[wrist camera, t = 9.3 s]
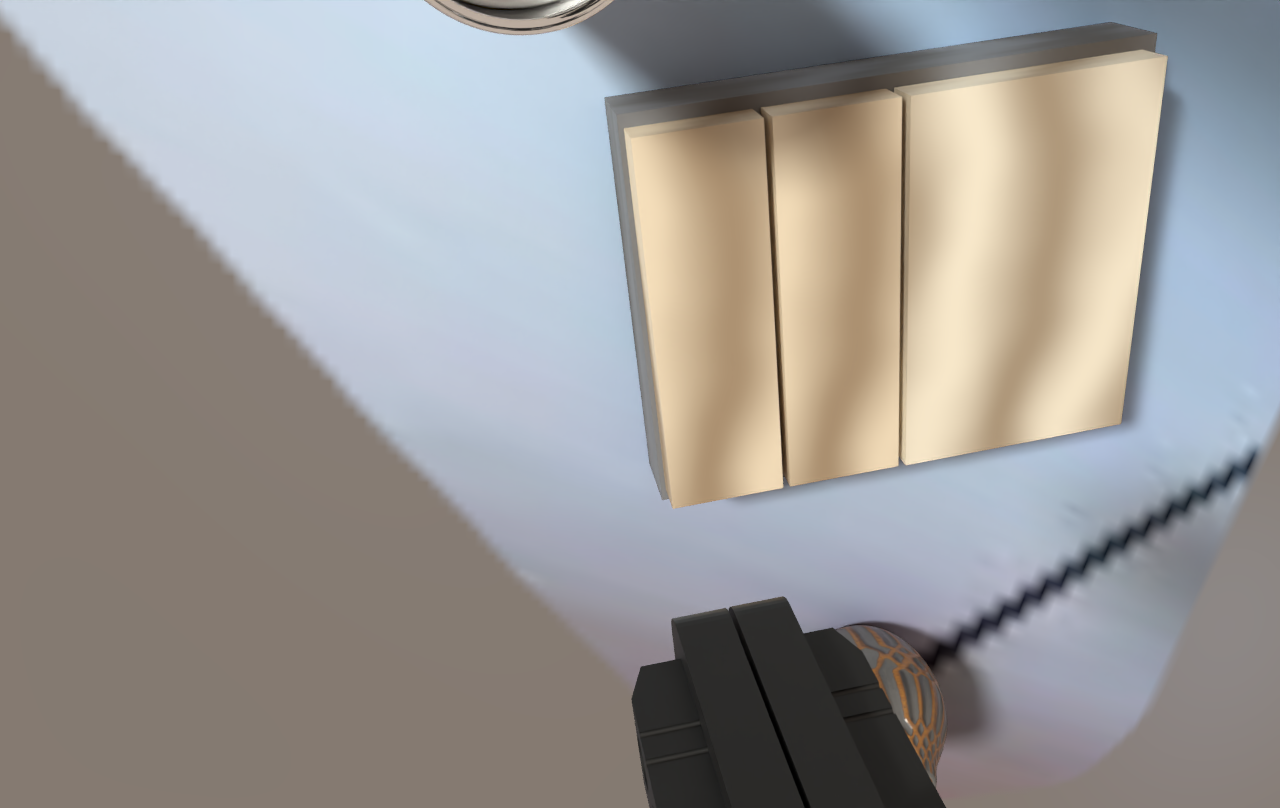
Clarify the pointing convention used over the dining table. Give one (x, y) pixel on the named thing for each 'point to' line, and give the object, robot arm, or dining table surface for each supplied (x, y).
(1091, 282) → the oak plank
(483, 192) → the dining table surface
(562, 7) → the metal can
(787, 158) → the floor board
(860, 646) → the vase
